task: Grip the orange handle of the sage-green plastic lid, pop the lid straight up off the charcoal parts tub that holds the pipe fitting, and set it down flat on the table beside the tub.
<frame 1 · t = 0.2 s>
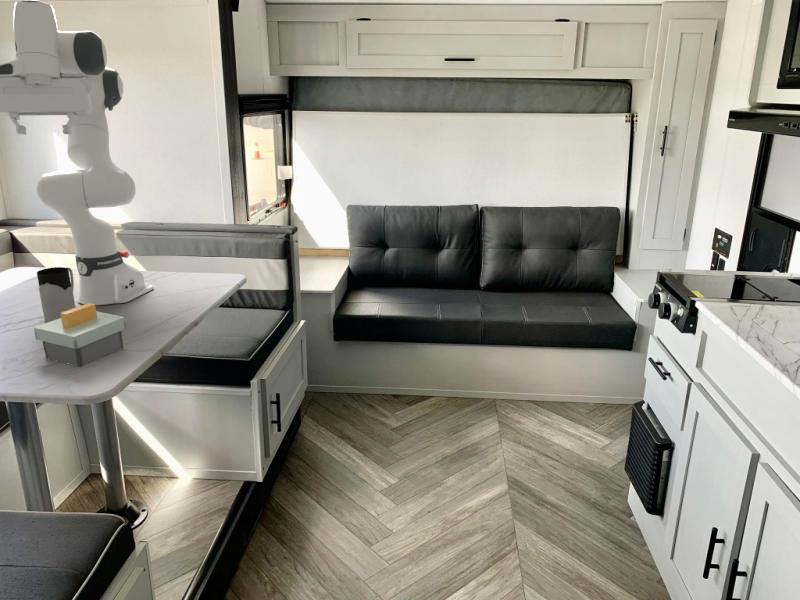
hand: (44, 134, 141), 51 cm above the table, tool tilted 20°, fingers open, 8 cm apart
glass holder: (66, 320, 174), on the table
pipe fitting: (84, 354, 153), resting in parts tub
lid: (82, 333, 151), point 5 cm above the table, touching parts tub
parts tub: (85, 352, 153), on the table
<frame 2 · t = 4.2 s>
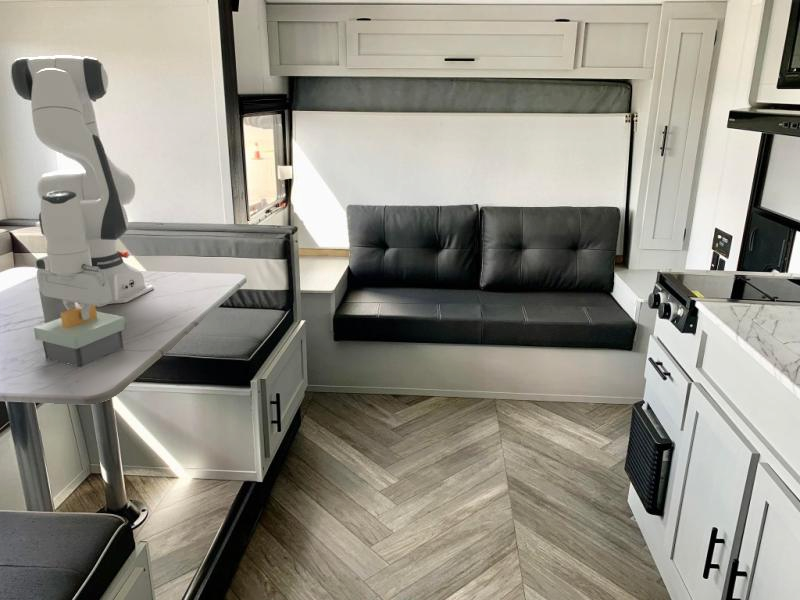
hand: (79, 317, 150), 9 cm above the table, tool pointing down, fingers closed on lid
pipe fitting: (79, 356, 152), resting in parts tub
lid: (82, 333, 151), point 5 cm above the table, touching gripper, parts tub
everything else where it was.
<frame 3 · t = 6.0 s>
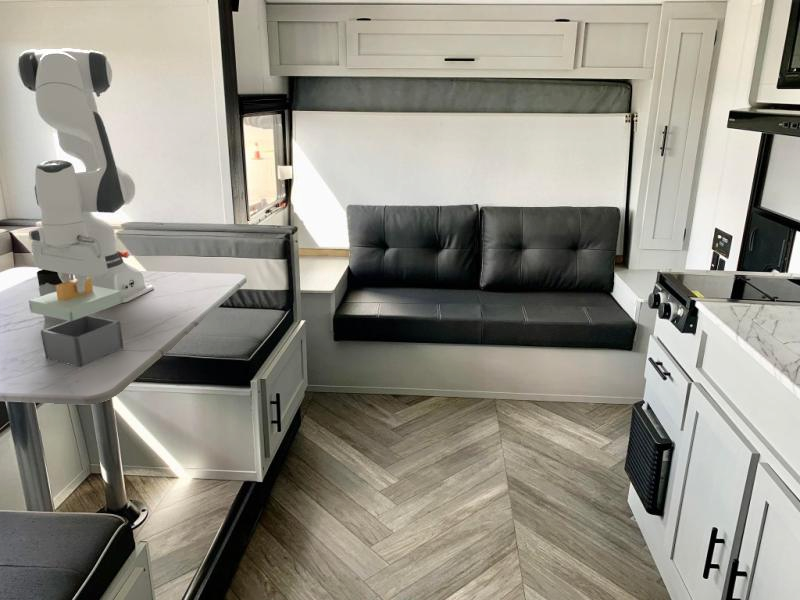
hand: (75, 291, 148), 16 cm above the table, tool pointing down, fingers closed on lid
lid: (77, 307, 149), point 12 cm above the table, touching gripper
everything else where it was.
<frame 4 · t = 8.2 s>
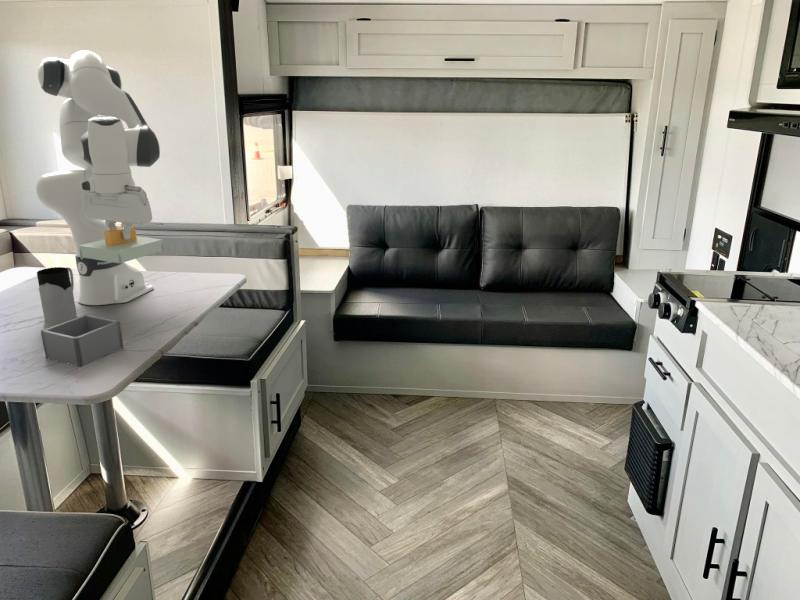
hand: (120, 238, 160), 25 cm above the table, tool pointing down, fingers closed on lid
lid: (123, 253, 161), point 21 cm above the table, touching gripper
everything else where it was.
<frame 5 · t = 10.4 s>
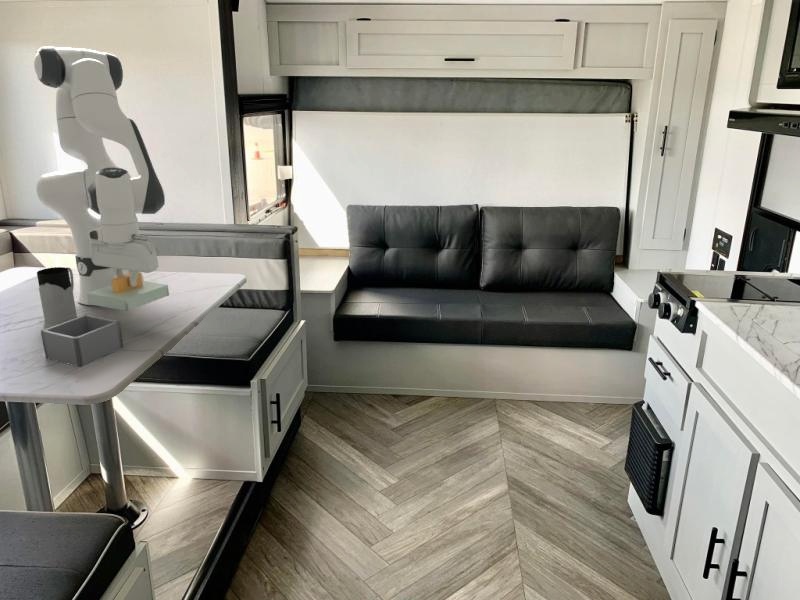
hand: (127, 284, 164), 12 cm above the table, tool pointing down, fingers closed on lid
lid: (129, 299, 165), point 8 cm above the table, touching gripper
everything else where it was.
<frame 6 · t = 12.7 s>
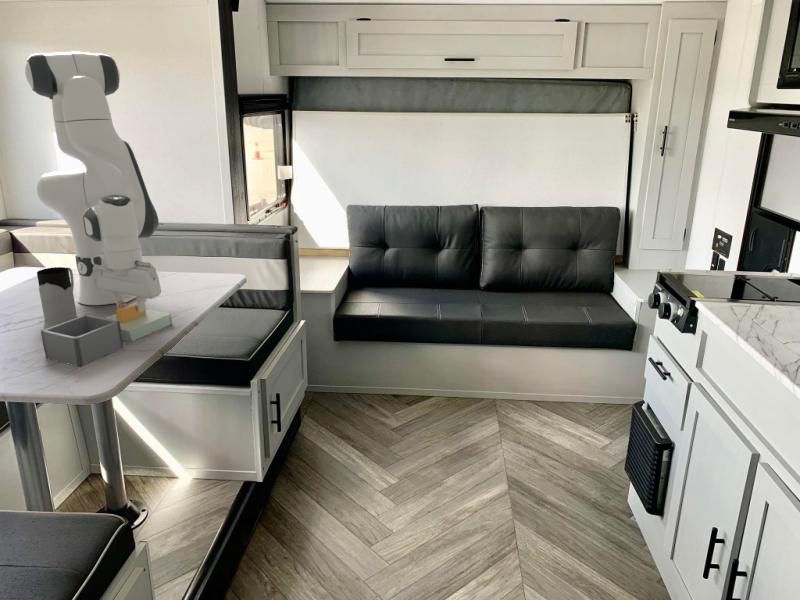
hand: (130, 309, 166), 6 cm above the table, tool pointing down, fingers open, 5 cm apart
lid: (133, 328, 168), on the table
everything else where it was.
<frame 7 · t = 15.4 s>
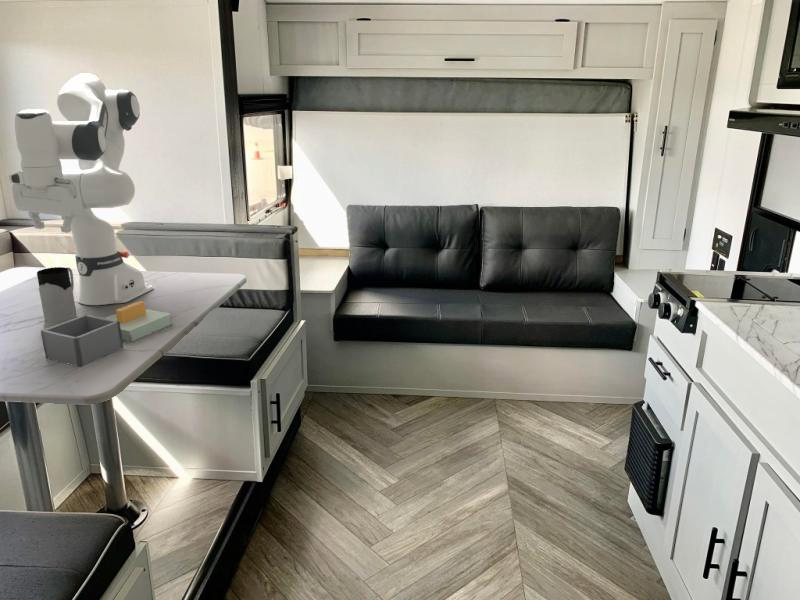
hand: (53, 230, 162), 26 cm above the table, tool pointing down, fingers open, 8 cm apart
nothing on the table moved.
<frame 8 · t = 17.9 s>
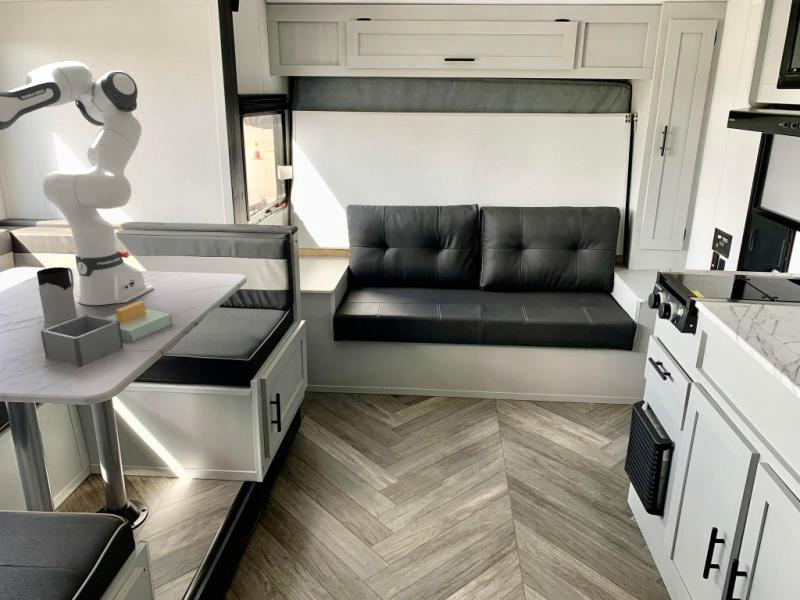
nothing on the table moved.
at the end: lid touching table; lid inside the target area (0.1 cm from its centre), on the table; lid tilted 0° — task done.
